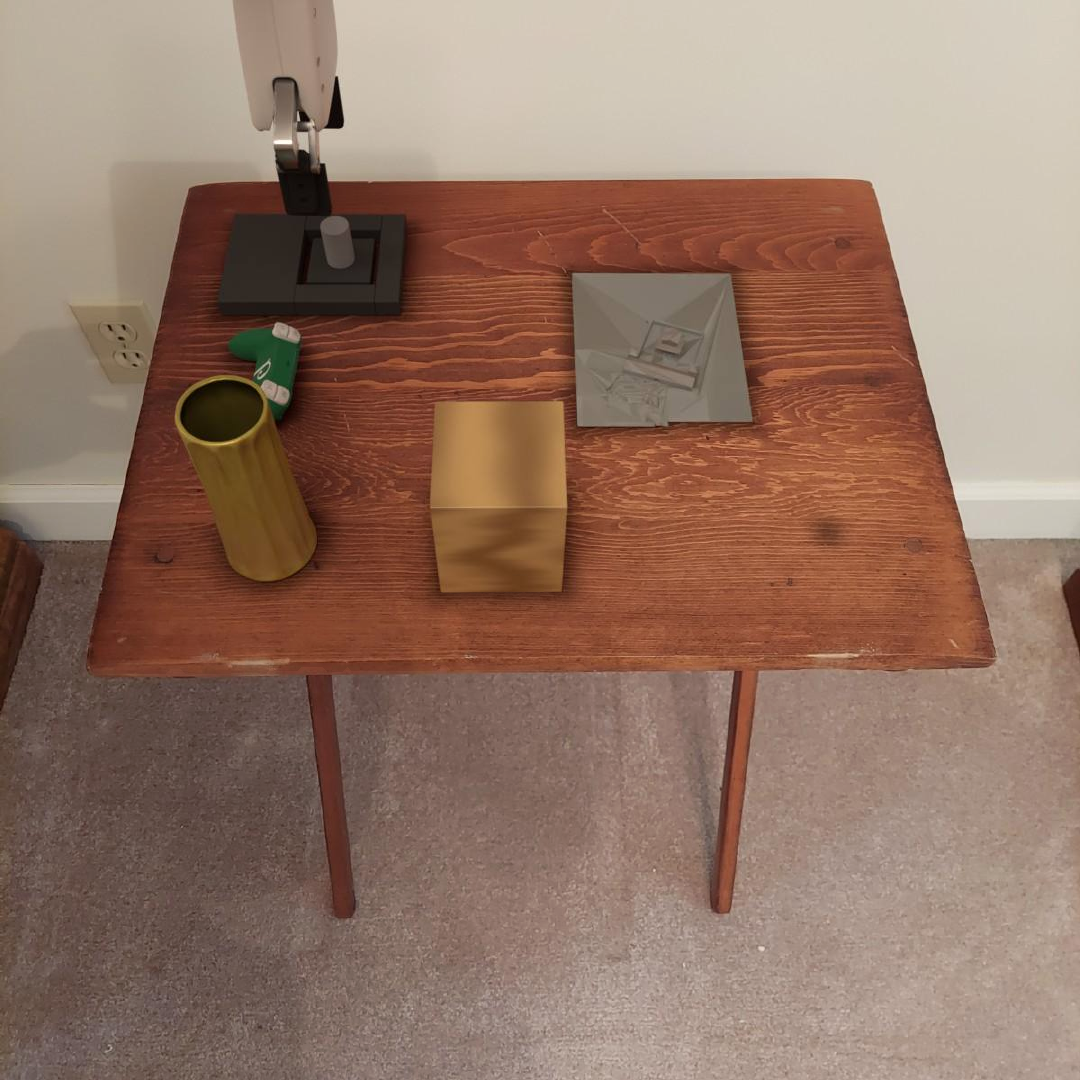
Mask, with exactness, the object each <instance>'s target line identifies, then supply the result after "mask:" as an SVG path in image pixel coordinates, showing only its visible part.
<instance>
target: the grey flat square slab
mask: <svg viewBox="0 0 1080 1080" xmlns="http://www.w3.org/2000/svg"><path fill="white" fill-rule="evenodd" d="M732 281H733V280H732V274H731V273H668V272H667V273H666V272H665V273H663V272H662V273H659V272H658V273H648V272H647V273H643V272H642V273H641V272H640V273H639V272H638V273H637V272H635V273H634V272H633V273H632V272H631V273H630V272H571V287H572V288H571V289H572V291H571V292H572V313H573V316H572V317H573V340H574V342H573V343H574V367H575V368H574V370H575V394H576V395H575V396H576V398H575V399H576V420H577V421H576V424H577V427H656V426H662V427H669V423H754V421H753V413H752V407H751V399H750V395H749V388H748V380H747V374H746V367H745V361H744V354H743V347H742V341H741V335H740V326H739V320H738V314H737V313H738V312H737V307H736V300H735V294H734V288H733V287H734V286H733V282H732ZM827 534H829V532H827Z"/></svg>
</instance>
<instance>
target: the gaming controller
mask: <svg viewBox="0 0 1080 1080" xmlns="http://www.w3.org/2000/svg"><path fill="white" fill-rule="evenodd" d="M302 343H303V338H302V335H301V333H300V331H298V330H297V329H296V328H294V327H293V326H289V325H288V324H285V323H283V322H280V321H279V322H278V321H276V322H275V324H274V326H273V327H264V328H261V327H260V328H252V329H246V330H242V331H240V332H237V333H236V334H234V335H233V337H232V338H231V339H230V340H229V341H228V344H227V348H228V350H229V352H230V353H231V354H232V355H233V356H234V357H236V358H238V359H240V360H243V361H247V362H255V363H256V364H255V368H254V371H253V372H254V373H253V378H252V381H253V382H255V383H256V384H257V385H259V386H260V387H261V388H262V390H263V391H264V393H265V395H266V397H267V400H268V402H269V406H270V409H271V411H272V415H273V418H274V421H275V422H276V421H280V420H281V419H282V418H283V414H284V413H285V412H286V411H287V410H288V407H289V406H290V403H291V401H292V396H293V389H294V385H295V380H296V374H297V369H298V363H299V357H300V352H301V349H302Z"/></svg>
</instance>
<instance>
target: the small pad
mask: <svg viewBox="0 0 1080 1080" xmlns="http://www.w3.org/2000/svg"><path fill="white" fill-rule="evenodd" d="M320 229H321V233H322V238H314V239H313V243H311V249H310V258H309V264H308V270H307V276H306V285H374V283H373V282H374V276H375V275H374V274H375V266H376V258H377V257H376V256H377V243H375V239H371V238H351V233H350V228H349V223H348V221H347V220H346V219H345V218H343V217H341V216H331V217H328V218H326V219H324V220H323V221H322V223H321V225H320Z"/></svg>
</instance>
